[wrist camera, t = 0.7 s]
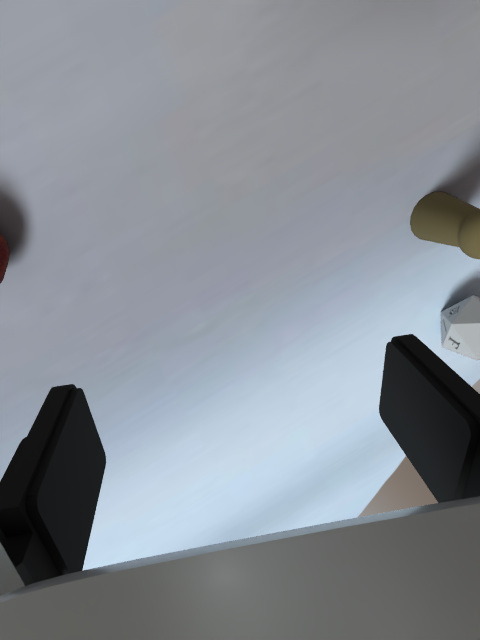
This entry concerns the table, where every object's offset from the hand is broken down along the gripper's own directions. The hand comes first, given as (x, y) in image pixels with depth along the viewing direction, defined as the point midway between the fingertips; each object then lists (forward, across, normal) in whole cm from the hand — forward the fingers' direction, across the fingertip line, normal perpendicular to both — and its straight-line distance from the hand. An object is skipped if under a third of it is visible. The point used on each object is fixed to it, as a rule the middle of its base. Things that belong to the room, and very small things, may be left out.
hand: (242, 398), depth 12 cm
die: (+35, -35, +20) cm, 53 cm away
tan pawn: (+35, -29, +5) cm, 46 cm away
